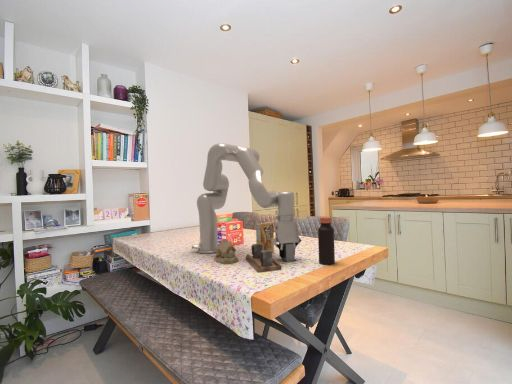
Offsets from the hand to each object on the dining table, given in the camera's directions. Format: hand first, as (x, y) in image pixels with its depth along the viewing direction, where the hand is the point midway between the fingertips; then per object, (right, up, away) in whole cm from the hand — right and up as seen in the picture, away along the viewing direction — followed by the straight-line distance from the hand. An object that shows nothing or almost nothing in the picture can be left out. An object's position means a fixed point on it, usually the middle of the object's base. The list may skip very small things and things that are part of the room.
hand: (287, 256), depth 126 cm
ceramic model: (-28, -3, +4) cm, 29 cm away
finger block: (0, -1, 0) cm, 1 cm away
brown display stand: (-12, -2, -6) cm, 13 cm away
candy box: (-10, -2, +15) cm, 18 cm away
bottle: (+17, -1, -6) cm, 18 cm away
